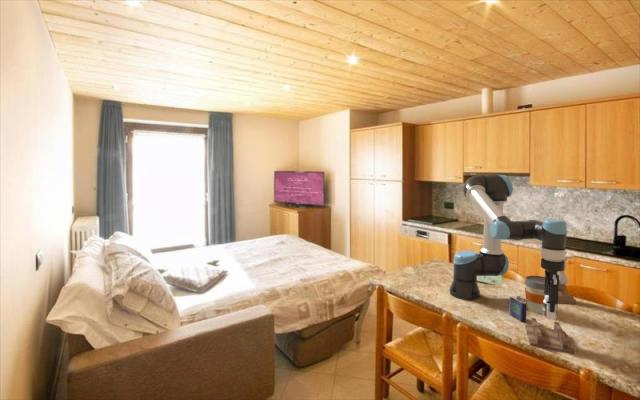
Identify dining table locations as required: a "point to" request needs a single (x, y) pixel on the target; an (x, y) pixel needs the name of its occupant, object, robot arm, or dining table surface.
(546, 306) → the pill bottle
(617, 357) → the dining table surface
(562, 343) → the clip stand
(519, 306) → the dark blue upright block
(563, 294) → the candle holder
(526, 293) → the reusable coffee cup
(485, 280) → the green board with pegs
